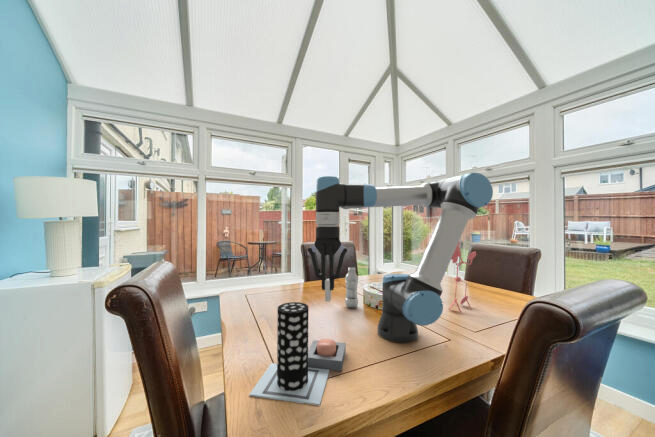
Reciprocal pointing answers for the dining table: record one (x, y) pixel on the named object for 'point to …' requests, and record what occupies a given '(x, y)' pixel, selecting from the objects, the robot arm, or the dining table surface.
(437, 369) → the dining table surface
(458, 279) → the figurine
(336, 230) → the robot arm
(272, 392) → the drawing pad
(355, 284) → the plastic bottle
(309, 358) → the button housing
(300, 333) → the white-spotted black cylinder
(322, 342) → the button
